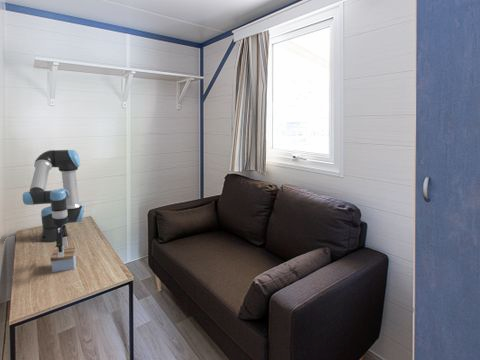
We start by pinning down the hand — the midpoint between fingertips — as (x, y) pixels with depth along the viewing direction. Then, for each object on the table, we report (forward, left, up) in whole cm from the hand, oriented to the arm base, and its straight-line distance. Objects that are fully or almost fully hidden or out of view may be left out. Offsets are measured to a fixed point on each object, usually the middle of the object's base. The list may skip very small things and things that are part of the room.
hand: (63, 252), depth 171 cm
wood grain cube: (0, 0, -3) cm, 3 cm away
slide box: (0, 0, -10) cm, 10 cm away
